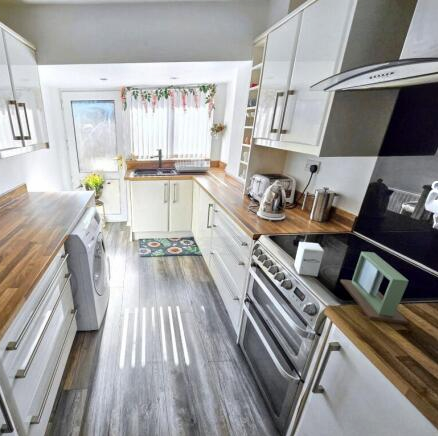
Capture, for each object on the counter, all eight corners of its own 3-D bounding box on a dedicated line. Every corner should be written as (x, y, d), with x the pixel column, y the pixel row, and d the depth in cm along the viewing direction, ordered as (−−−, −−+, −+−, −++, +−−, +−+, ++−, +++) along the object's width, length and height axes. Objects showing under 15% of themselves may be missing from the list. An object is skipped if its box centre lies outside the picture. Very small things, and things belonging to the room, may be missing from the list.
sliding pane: (377, 284, 91) (386, 259, 87) (390, 297, 84) (401, 271, 80) (362, 282, 92) (370, 258, 88) (374, 295, 85) (384, 269, 81)
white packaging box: (298, 274, 103) (303, 248, 99) (293, 265, 110) (299, 241, 105) (317, 277, 101) (324, 250, 97) (312, 267, 108) (318, 242, 103)
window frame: (369, 284, 95) (381, 251, 90) (407, 324, 76) (425, 285, 71) (340, 281, 98) (349, 248, 92) (369, 319, 79) (384, 280, 74)
